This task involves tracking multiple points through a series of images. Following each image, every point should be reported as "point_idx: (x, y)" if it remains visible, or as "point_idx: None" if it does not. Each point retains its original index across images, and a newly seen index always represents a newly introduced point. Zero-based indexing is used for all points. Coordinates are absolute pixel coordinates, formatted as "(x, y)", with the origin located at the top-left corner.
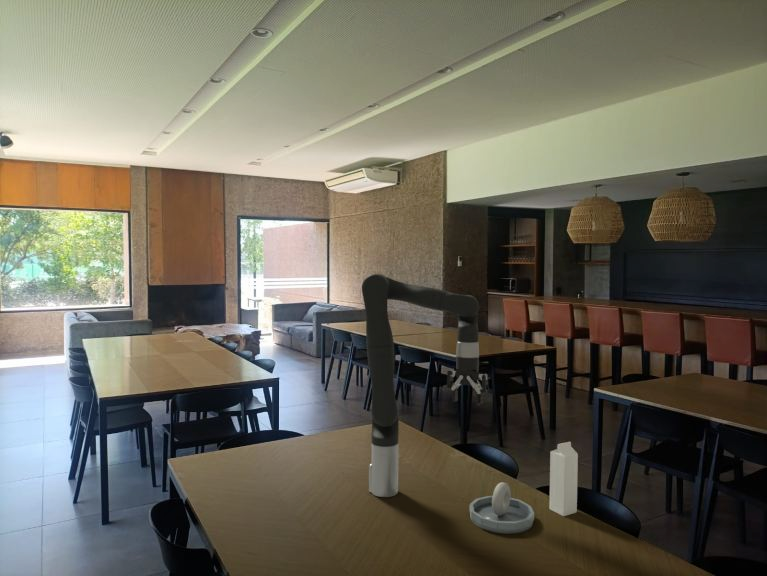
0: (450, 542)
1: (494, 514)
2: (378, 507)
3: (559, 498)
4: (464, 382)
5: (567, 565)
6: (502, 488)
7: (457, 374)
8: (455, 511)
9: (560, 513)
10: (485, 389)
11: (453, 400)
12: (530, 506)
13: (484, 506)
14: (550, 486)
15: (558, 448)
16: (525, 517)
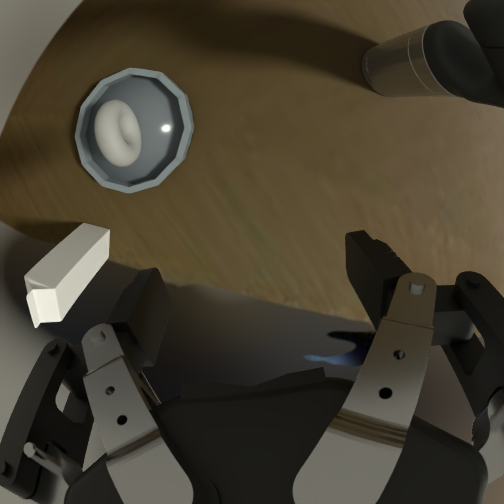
0: (151, 2)
1: (142, 121)
2: (344, 11)
3: (77, 235)
4: (278, 410)
5: (19, 104)
6: (95, 124)
7: (445, 477)
8: (218, 85)
9: (87, 224)
10: (37, 361)
11: (360, 230)
12: (101, 184)
13: (177, 134)
14: (89, 247)
15: (32, 292)
16: (101, 158)
